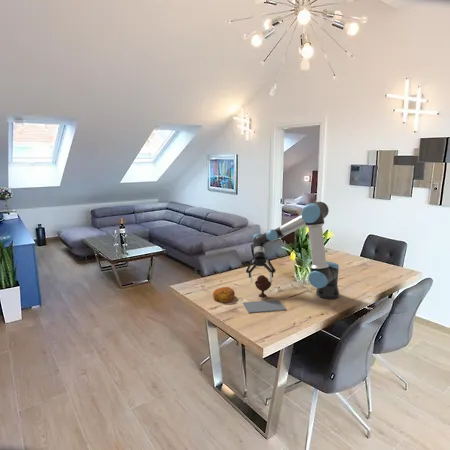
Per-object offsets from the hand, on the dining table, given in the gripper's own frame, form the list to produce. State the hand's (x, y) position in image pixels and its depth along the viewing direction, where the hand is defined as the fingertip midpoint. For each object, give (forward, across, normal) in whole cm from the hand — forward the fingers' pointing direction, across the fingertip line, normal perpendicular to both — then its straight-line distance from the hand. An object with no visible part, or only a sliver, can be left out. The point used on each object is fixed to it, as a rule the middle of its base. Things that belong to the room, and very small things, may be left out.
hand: (261, 281), depth 227 cm
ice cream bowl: (+8, -1, -5) cm, 10 cm away
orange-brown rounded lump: (+10, +26, -4) cm, 28 cm away
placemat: (+19, 0, +6) cm, 20 cm away
